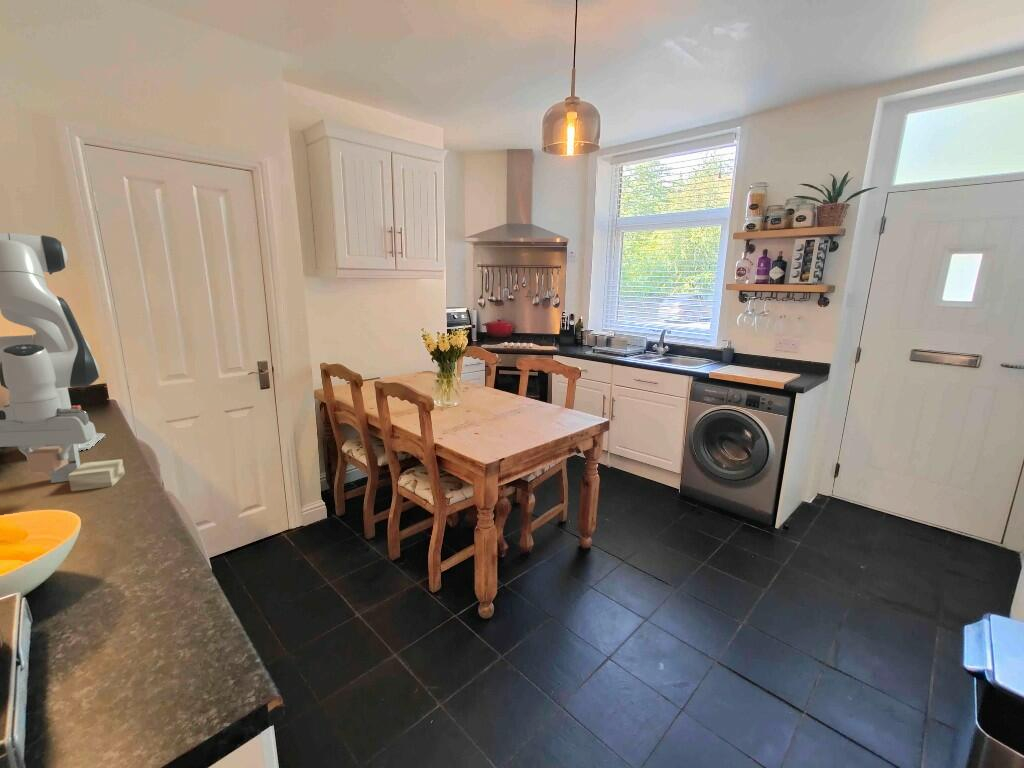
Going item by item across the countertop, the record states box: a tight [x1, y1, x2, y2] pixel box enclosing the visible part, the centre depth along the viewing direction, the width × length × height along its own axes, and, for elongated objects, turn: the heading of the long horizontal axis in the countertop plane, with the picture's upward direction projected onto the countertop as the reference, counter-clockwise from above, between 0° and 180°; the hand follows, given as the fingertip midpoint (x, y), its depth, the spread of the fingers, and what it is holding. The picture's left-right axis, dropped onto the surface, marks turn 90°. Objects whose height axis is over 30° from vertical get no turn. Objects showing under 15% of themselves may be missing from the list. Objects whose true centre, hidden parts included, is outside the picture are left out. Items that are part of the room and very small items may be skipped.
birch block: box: [68, 458, 126, 492], centre depth 129 cm, size 9×9×5 cm
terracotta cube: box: [26, 446, 68, 473], centre depth 117 cm, size 5×5×5 cm
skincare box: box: [45, 444, 81, 484], centre depth 130 cm, size 6×4×12 cm
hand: (48, 460), depth 117 cm, fingers closed on terracotta cube, 5 cm apart
